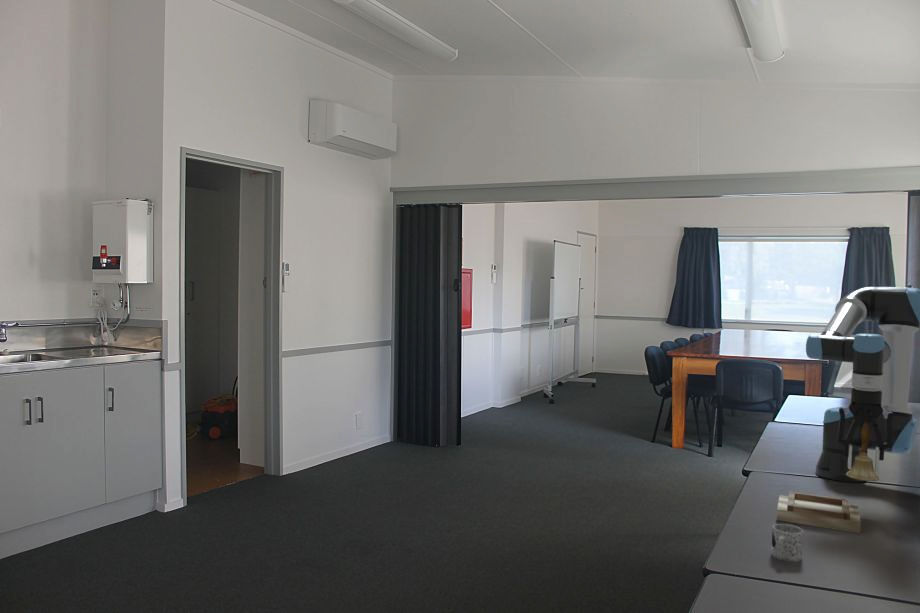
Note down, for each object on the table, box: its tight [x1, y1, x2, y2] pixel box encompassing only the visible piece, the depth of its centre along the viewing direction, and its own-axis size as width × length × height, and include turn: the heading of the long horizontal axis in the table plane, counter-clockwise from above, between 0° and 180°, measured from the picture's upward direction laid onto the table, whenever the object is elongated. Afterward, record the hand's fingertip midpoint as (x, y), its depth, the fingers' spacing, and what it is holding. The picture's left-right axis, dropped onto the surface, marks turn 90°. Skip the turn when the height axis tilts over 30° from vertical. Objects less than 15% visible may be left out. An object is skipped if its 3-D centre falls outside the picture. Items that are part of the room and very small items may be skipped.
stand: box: [776, 490, 862, 534], centre depth 202 cm, size 15×20×4 cm
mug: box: [770, 523, 804, 563], centre depth 172 cm, size 10×7×7 cm
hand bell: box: [846, 421, 880, 482], centre depth 208 cm, size 8×8×16 cm
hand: (862, 469), depth 208 cm, fingers closed on hand bell, 6 cm apart
